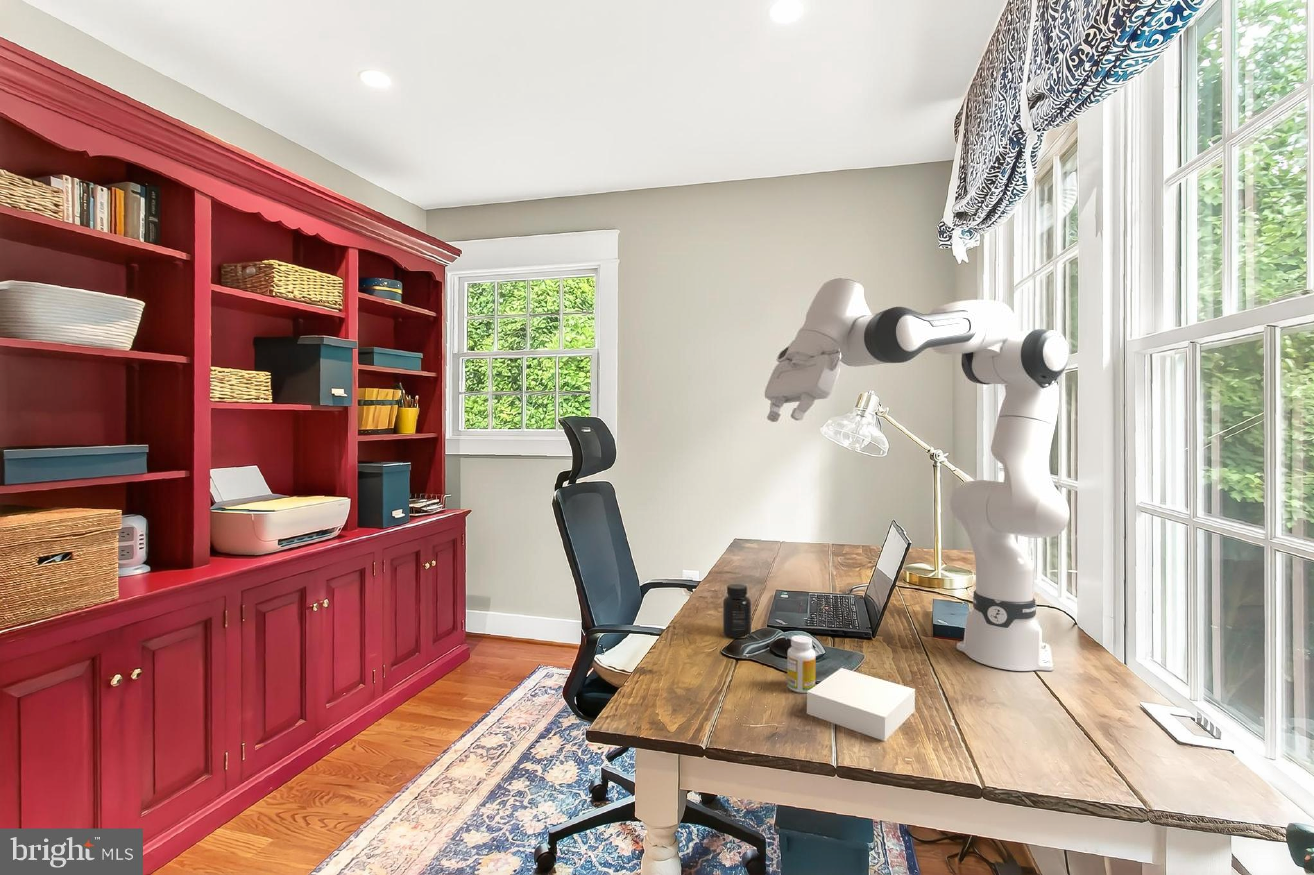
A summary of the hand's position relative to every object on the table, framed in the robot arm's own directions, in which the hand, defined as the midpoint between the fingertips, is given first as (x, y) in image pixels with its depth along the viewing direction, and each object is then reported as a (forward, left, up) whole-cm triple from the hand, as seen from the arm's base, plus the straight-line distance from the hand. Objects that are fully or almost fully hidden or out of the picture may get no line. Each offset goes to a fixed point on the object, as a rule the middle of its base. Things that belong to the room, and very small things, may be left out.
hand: (783, 419), depth 114 cm
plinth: (-4, +14, -52) cm, 55 cm away
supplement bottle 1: (-22, -25, -53) cm, 62 cm away
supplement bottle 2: (-6, +1, -53) cm, 53 cm away
